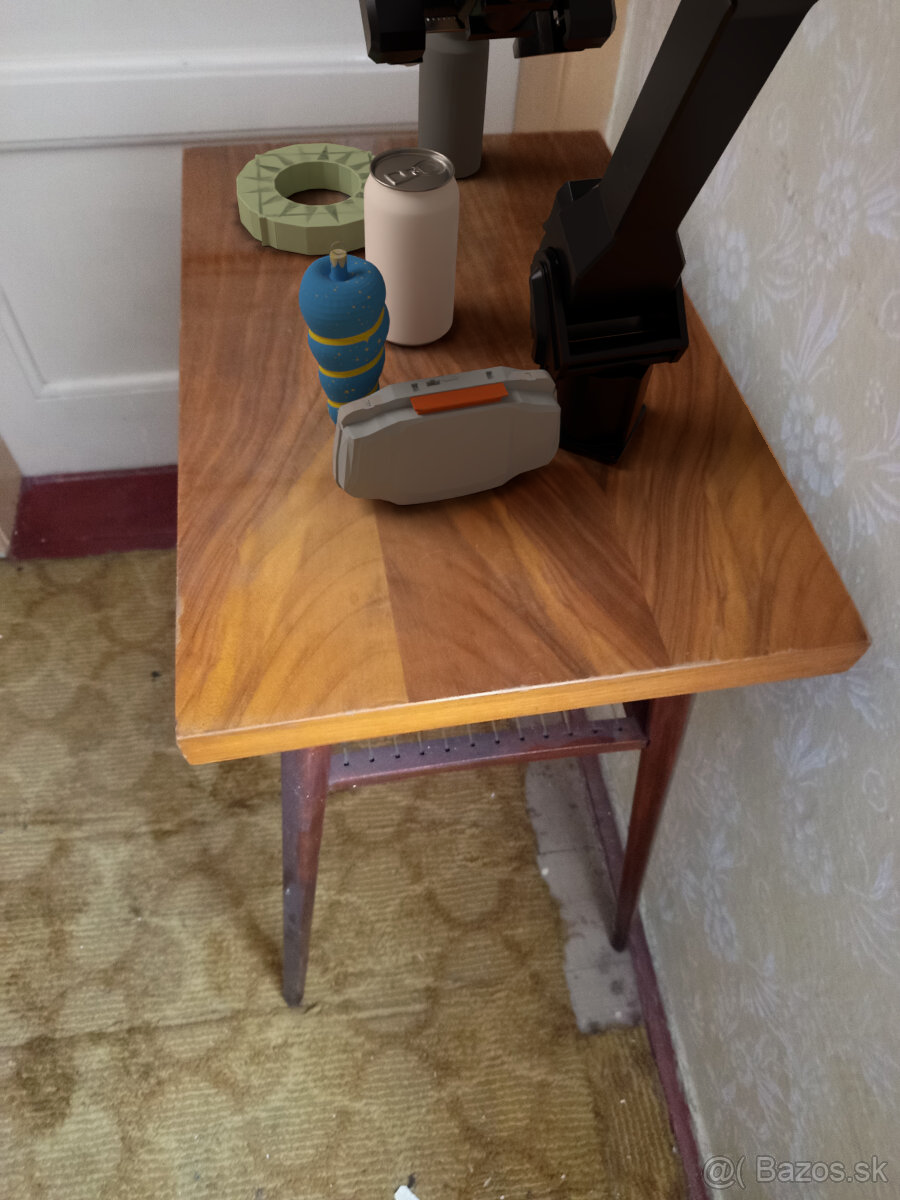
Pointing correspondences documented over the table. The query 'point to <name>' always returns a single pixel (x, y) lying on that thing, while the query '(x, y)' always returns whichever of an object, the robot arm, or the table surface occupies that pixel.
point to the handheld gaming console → (446, 435)
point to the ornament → (345, 325)
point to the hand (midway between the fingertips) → (462, 55)
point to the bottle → (453, 98)
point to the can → (413, 240)
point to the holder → (298, 223)
